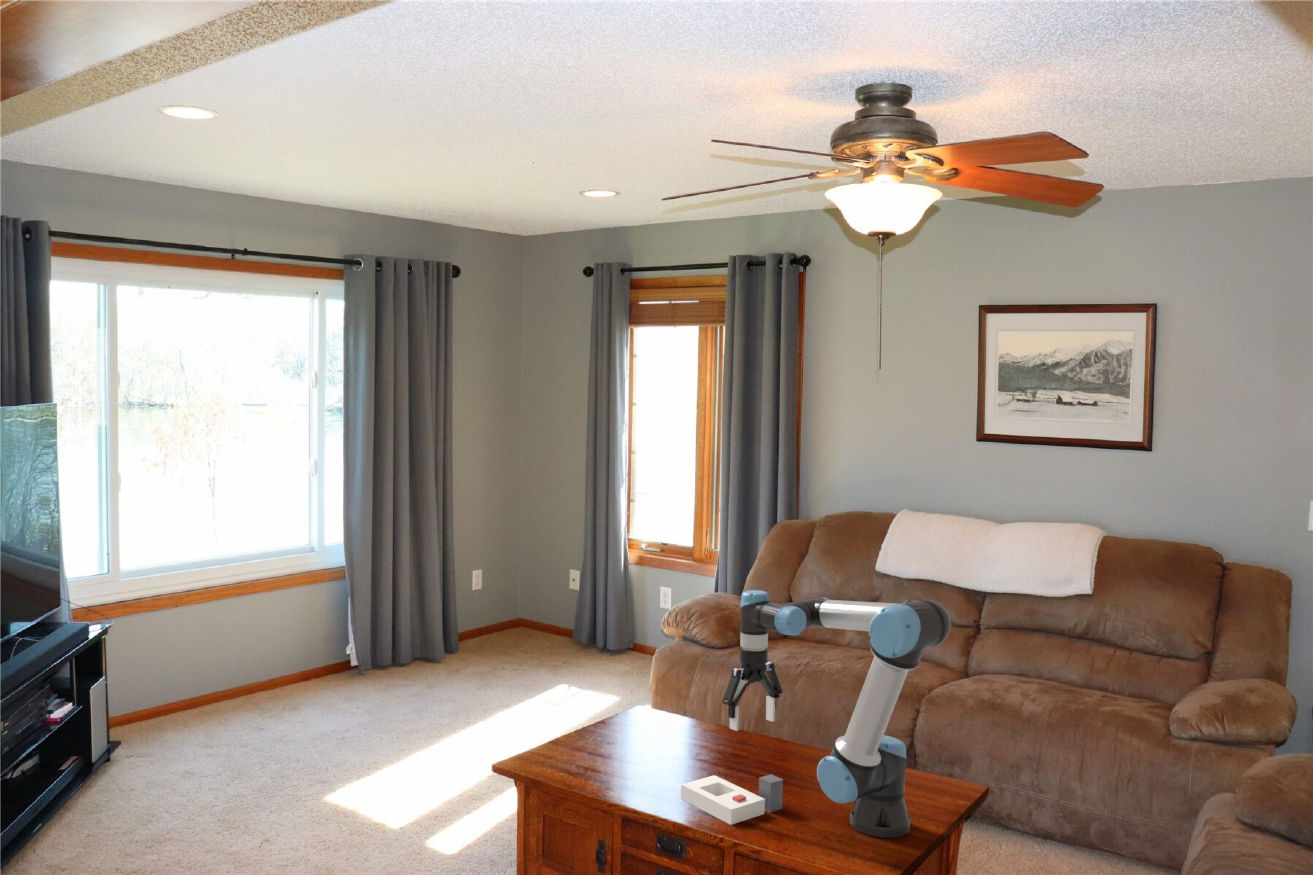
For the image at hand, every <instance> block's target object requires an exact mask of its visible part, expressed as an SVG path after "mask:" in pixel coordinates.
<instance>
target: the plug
mask: <svg viewBox="0 0 1313 875" xmlns="http://www.w3.org/2000/svg"><path fill="white" fill-rule="evenodd" d="M783 792H784V778H780V777H778V776H775V775H774V774H771V773H770V774H768V775H764V776H760V777H758V793H757V794H758V796H760V797H762V798H764V799H765V812H767V813H770V814H771V813H774V812H777V811H779V810H783Z"/></svg>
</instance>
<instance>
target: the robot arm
mask: <svg viewBox="0 0 1313 875" xmlns="http://www.w3.org/2000/svg"><path fill="white" fill-rule="evenodd" d="M769 596H770V595H769V592H766V591H765V590H759V589H758V590H756V589H751V590H746V591H744V592H742V594H741V599H740V606H739V607H740V636H739V637H740V642H739V644H740V645H739V646H740V647H741V648H740V649H739V662H740V663H741V666H740V668H736V667H732V670H731V676H730V679H729V681H728V685H727V687H726V690H725V693H724V696H723V698H722V700H721V702H722V704H724V705H726V706H728V708H727V710H728V711H727V712H728V713H727V716H728V718H729V729H730V730H733V731H736V732H738V731H739V722H740V721H739V716H740V715H739V714H740V713H739V710H740V709H739V708H740V707H739V705H738V704H739V701H741V698H742V696H743V694H744V693H745V691H746V689H747V688H748V687H749V686H750V685H751V684H754V683H756V682H757V683H760V684H761V686H762V687H763V688H764V690H765V691H766V693H767V694H768V695H766V697H765V700H766V701H765V702H766V703H765V704H766V705H765V707H766V708H765V720H766V721H769V722H772V723H773V722H775V721H776V720H775V719H776V716H775V715H776V709H777V699H779V698H780V697H781V696H780V695H782V694H783V689H782V687H781V683H780V681H779V680H780V679H779V678H778V675H777V673H776V669H775V668H776V666H775V662H771V661H768V660H769V659H768V658H769V657H768V654H769V651H768V649H767V648H768V645H769V631H770V632H775V633H779V634H782V635H785V636H799V635H800V634H801V633H802V632H803V631H804V630H806V629H812V628H821V629H822V628H823V629H836V630H837V629H840V630H850V631H861V632H862V631H863V632H868V636H869V637H870V640H869V643H870V644H871V645H870V652H871V653H872V655H873V659H872V662H871V664H870V667H869V669H868V672H867V675H866V677H865V681H864V683H863V686H862V688H861V691H860V694H859V697H858V699H857V702H856V704H855V707H854V710H853V712H852V714H851V718H850V720H849V723H848V726H847V728H846V731H845V733H844V735H842V736H838V737H837V739H836V740H835V742H834V746H833V748H832V750H831V753H830V754H829V755H826V756H824V757H823V758H822V759H820V761H819V762H818V764H817V767H816V777H817V778H816V779H817V781H818V783H819V786H820V789H821V790H822V792H823V793H824V795H825V796H826V797H827V798H829V799H830V800H831V801H833V802H835V803H837V804H847V803H853V802H854V804H853V806H852V809H851V811H850V817H849V819H850V820H849V822H850V825H851V827H852V828H853V829H854V830H856V831H857V832H859V833H862V834H864V835H867V836H871V837H876V838H882V839H883V838H885V839H891V838H894V839H895V838H900V837H903V836H905V834H906V835H907V834H909V832H910V830H911V819H910V816H909V814H908V809H907V805H906V804H907V803H906V801H905V787H906V785H905V784H906V770H907V769H906V768H907V767H906V765H907V746H906V745H905V743H904V742H903V741H902V740H901V739H898V738H896V737H893V736H890V735H885V732H886V730H887V727H888V724H889V723H890V719H891V717H892V714H893V712H894V709H895V706H896V704H897V701H898V699H899V696H900V694H901V692H902V689H903V685H904V683H905V680H906V678H907V675H908V674H909V671H913V670H915V669H917V668H918V666H919V663H920V661H921V659H922V655H923V653H924V651H925V650H929V649H932V648H936V647H938V646H940V645H941V644H943V643H944V642H945V641H946V640H947V638H948V637H949V635H950V633H951V628H952V621H951V620H952V619H951V616H950V614H949V611H948V610H947V609H946V608H945V606H943V605H942V604H941V603H940V602H938V601H935V600H932V599H918V600H915V599H913V600H912V599H909V600H905V601H904V602H903V603H894V602H891V603H890V602H875V601H874V602H873V601H859V600H858V601H857V600H839V599H837V600H836V599H829V598H827V597H812V598H809V599H805V600H798V601H793V602H787V603H777V602H775V601H770V598H769Z"/></svg>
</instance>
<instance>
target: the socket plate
mask: <svg viewBox="0 0 1313 875" xmlns="http://www.w3.org/2000/svg"><path fill="white" fill-rule="evenodd" d="M680 799H681V800H682V801H684V802H686V803H687V804H690V805H692V806H694V807H695V808H697V809H699V810H701V811H703V812H705V813H708V814H709V815H711V816H713V817H715V818H717V819H719V820H720V821H723V822H724V823H726V824H728V825H731V826H732V825H734V824H737V823H741V822H744V821H747V820H750V819H752V818H753V819H754V818H756V817H759V816H762V815H765V812H766V811H765V799H764V798H762V797H760V796H758V795H757V794H756V793H753V792H751V791H749V790H747V789H746V788H742V787H740V786H738V785H736V784H734V783H732V782H730V781H728V780H726V779H723V778H721V777H720V776H717V775H715V774H713V775H710V776H707V777H703V778H700V779H696V780H695V779H694V780H693V781H689V782H685V783H681V786H680Z"/></svg>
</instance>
